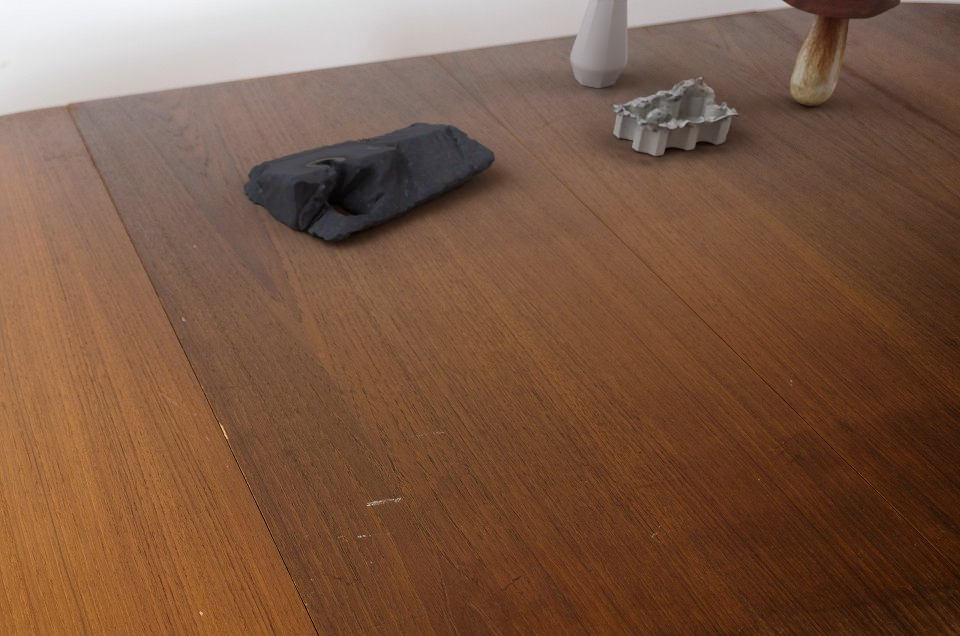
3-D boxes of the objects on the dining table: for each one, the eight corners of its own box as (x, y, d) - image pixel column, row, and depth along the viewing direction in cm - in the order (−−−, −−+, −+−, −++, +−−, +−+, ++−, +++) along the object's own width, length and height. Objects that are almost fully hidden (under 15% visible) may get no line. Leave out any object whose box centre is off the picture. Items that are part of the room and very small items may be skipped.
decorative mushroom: (804, 135, 121) (850, -23, 111) (727, 93, 128) (764, -58, 118) (889, 112, 124) (941, -43, 114) (809, 73, 131) (851, -76, 122)
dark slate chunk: (518, 187, 114) (525, 139, 111) (319, 255, 106) (320, 205, 102) (417, 127, 124) (420, 80, 121) (227, 184, 116) (226, 136, 112)
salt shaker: (580, 94, 129) (601, -35, 120) (558, 72, 133) (577, -54, 125) (632, 88, 130) (657, -41, 121) (609, 66, 134) (631, -59, 125)
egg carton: (697, 113, 125) (707, 74, 122) (740, 145, 119) (750, 104, 117) (601, 127, 123) (609, 87, 120) (640, 160, 117) (648, 119, 115)
